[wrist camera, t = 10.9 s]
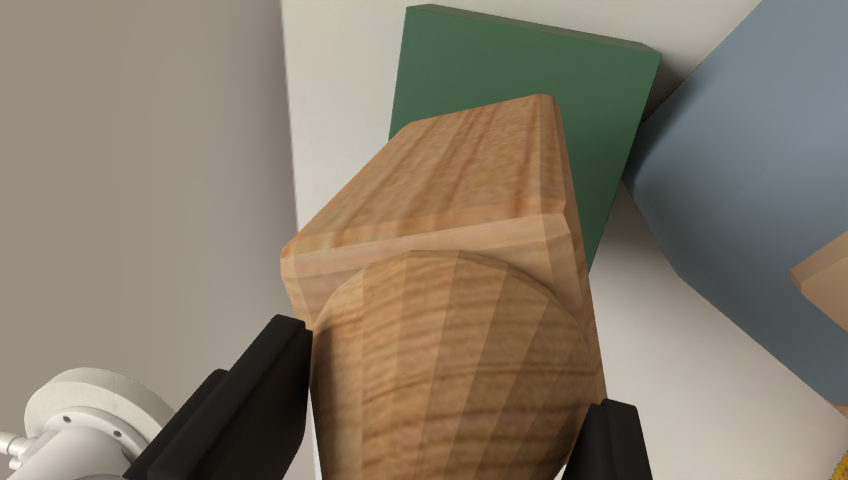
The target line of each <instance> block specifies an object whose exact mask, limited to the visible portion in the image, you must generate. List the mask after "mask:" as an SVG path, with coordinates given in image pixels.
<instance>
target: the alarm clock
mask: <svg viewBox="0 0 848 480" xmlns="http://www.w3.org/2000/svg"><path fill="white" fill-rule="evenodd" d="M621 178H622V180H623V182H624V184H625V185H626V187H627V189H628V191H629V192H630V194H631V196H632V198H633V200H634V201H635V203H636V205H637V207H638V209H639V210H640V212H641V214H642V216H643V217H644V219H645V221H646V223H647V225H648V226H649V228H650V230H651V232H652V234H653V235H654V237H655V239H656V241H657V242H658V244H659V246H660V248H661V250H662V251H663V253H664V255H665V257H666V258H667V260H668V261H669V263H670V264H671V266H672V267H673V268H674V270H675V271H676V273H677V274H678V276H679V277H680V278H681V279H683V280H684V281H685V282H686V283H687V284H689V285H690V286H691V287H692V288H693V289H695V290H696V291H697V292H698V293H699V294H700V295H702V296H703V297H704V298H705V299H706V300H708V301H709V302H710V303H711V304H712V305H713V306H715V307H716V308H717V309H718V310H719V311H721V312H722V313H723V314H724V315H725V316H727V317H728V318H729V319H730V320H731V321H732V322H734V323H735V324H736V325H737V326H738V327H740V328H741V329H742V330H743V331H744V332H746V333H747V334H748V335H749V336H750V337H751V338H753V339H754V340H755V341H756V342H757V343H759V344H760V345H761V346H762V347H763V348H764V349H766V350H767V351H768V352H769V353H770V354H772V355H773V356H774V357H775V358H776V359H778V360H779V361H780V362H781V363H782V364H783V365H785V366H786V367H787V368H788V369H789V370H791V371H792V372H793V373H794V374H795V375H797V376H798V377H799V378H800V379H801V380H802V381H804V382H805V383H806V384H807V385H808V386H810V387H811V388H812V389H813V390H814V391H816V392H817V393H818V394H819V395H820V396H821V397H823V398H824V399H825V400H826V401H827V402H829V403H830V404H831V405H832V406H833V407H834V408H836V409H837V410H838V411H839V412H840V413H842V414H843V415H844V416H845V417H846V418H848V0H763V1H762V2H761V3H760V4H759V5H758V6H757V7H756V8H755V9H754V10H753V11H752V12H751V13H750V14H749V15H748V16H747V17H746V18H745V19H744V20H743V21H742V22H741V23H740V24H739V25H738V26H737V28H736V29H735V30H734V31H733V32H732V33H731V34H730V35H729V36H728V37H727V38H726V39H725V40H724V41H723V42H722V43H721V44H720V45H719V46H718V47H717V48H716V49H715V50H714V51H713V52H712V53H711V54H710V55H709V56H708V57H707V58H706V59H705V60H704V61H703V62H702V63H701V64H700V65H699V66H698V67H697V68H696V70H695V71H694V72H693V73H692V74H691V75H690V76H689V77H688V78H687V79H686V80H685V81H684V82H683V83H682V84H681V85H680V86H679V87H678V88H677V89H676V90H675V91H674V92H673V93H672V94H671V95H670V96H669V97H668V98H667V99H666V100H665V101H664V102H663V103H662V104H661V105H660V106H659V107H658V108H657V109H656V111H655V112H654V113H653V114H652V115H651V116H650V117H649V118H648V119H647V120H646V121H645V122H644V123H643V124H642V125H641V126H640V127H639V128H638V129H637V132H636V135H635V138H634V141H633V144H632V147H631V150H630V153H629V156H628V159H627V162H626V165H625V168H624V171H623V174H622V177H621Z"/></svg>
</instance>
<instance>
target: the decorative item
mask: <svg viewBox="0 0 848 480" xmlns="http://www.w3.org/2000/svg"><path fill="white" fill-rule="evenodd" d="M280 266H281V278H282V281H283V283H284V286H285V289H286V291H287V294H288V296H289V299H290V301H291V304H292V307H293V309H294V312H295V315H296V317H297V319H299V320H303V321H305V324H306V329H308V330H312V331H313V344H312V356H311V367H310V379H309V388H310V395H311V402H312V409H313V417H314V424H315V431H316V438H317V445H318V453H319V460H320V467H321V474H322V480H554V478H555V477H556V476H557V474H558V473H559V472H560V470H561V469H562V467H563V466H564V465H565V464H567V463H568V460H569V458H570V455H571V453H572V450H573V447H574V445H575V442H576V440H577V437H578V434H579V432H580V429H581V427H582V424H583V421H584V419H585V416H586V414H587V411H588V409H589V406H590V405H591V403H595V404H598V405H600V403H601V401H602V400H603V399H605V398H606V399H608V398H607V392H606V385H605V379H604V373H603V366H602V360H601V354H600V347H599V341H598V335H597V328H596V322H595V316H594V309H593V303H592V296H591V290H590V284H589V277H588V271H587V265H586V258H585V252H584V246H583V239H582V233H581V227H580V221H579V215H578V209H577V203H576V198H575V192H574V186H573V181H572V175H571V169H570V164H569V158H568V152H567V146H566V141H565V135H564V129H563V124H562V118H561V112H560V107H559V105H558V104H557V102H556V100H555V99H554V97H553V96H551V95H545V94H535V95H531V96H526V97H522V98H517V99H513V100H508V101H504V102H499V103H495V104H490V105H486V106H481V107H477V108H472V109H468V110H463V111H459V112H454V113H450V114H445V115H441V116H436V117H432V118H427V119H423V120H418V121H414V122H410V123H409V124H408V125H406V126H405V127H404V128H402V129H401V130H400V131H399V132H398V133H397V134H396V135H395V136H394V137H393V138H392V139H391V140H390V141H389V142H388V143H387V144H386V145H385V146H384V147H383V148H382V149H381V150H380V151H379V152H378V153H377V154H376V155H375V156H374V157H373V158H372V159H371V160H370V161H369V162H368V163H367V164H366V165H365V166H364V167H363V168H362V169H361V170H360V171H359V172H358V173H357V174H356V175H355V176H354V177H353V178H352V179H351V180H350V181H349V182H348V183H347V184H346V185H345V186H344V187H343V188H342V189H341V190H340V191H339V192H338V193H337V194H336V195H335V197H334V198H333V199H332V200H331V201H330V202H329V203H328V204H327V205H326V206H325V207H324V208H323V209H322V210H321V211H320V212H319V213H318V214H317V215H316V216H315V217H314V218H313V219H312V220H311V221H310V222H309V223H308V224H307V225H306V226H305V227H304V228H303V229H302V230H301V231H300V232H299V233H298V234H297V235H296V236H295V237H294V238H293V239H292V240H291V241H290V242H289V243H288V244H287V245H286V246H285V247H284V248H283V250H282V254H281V258H280Z"/></svg>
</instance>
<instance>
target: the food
mask: <svg viewBox="0 0 848 480" xmlns="http://www.w3.org/2000/svg"><path fill="white" fill-rule="evenodd" d="M829 480H848V451H847V453H846V454H845V455H844V457H843V458H842V460H841V462H840V463H839V464H838V465H837V468H836V469H834V473H833V475H832V478H831V479H829Z"/></svg>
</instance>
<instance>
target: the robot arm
mask: <svg viewBox="0 0 848 480" xmlns="http://www.w3.org/2000/svg"><path fill="white" fill-rule="evenodd" d="M312 344H313V331H312V330H308V329H306V324H305V321H303V320H299V319H295V318H291V317H287V316H283V315H280V314H277V315H275V316H274V317H273V318H272V319H271V321H270V322H269V323H268V324H267V326H266V327H265V328H264V329H263V331H262V332H261V333H260V334H259V335H258V336H257V338H256V339H255V340H254V341H253V342H252V344H251V345H250V346H249V347H248V349H247V350H246V351H245V352H244V353H243V355H242V356H241V357H240V359H239V360H238V361H237V362H236V363H235V364H234V365H233V367H232V368H231V369H230V371H227V370H223V369H217V370H215V371H214V372H212V373H211V374H210V375H209V376H208V378H206V380H205V381H204V382H203V383H202V385H200V387H199V388H198V389H197V390H196V391H195V392H194V394H193V395H192V396H191V397H190V398H189V399H188V400H187V402H186V403H185V404H184V405H183V406H182V407H181V408H180V410H179V411H178V412H177V413H176V414H175V415H174V416H173V418H172V419H171V420H170V421H169V422H168V423H167V425H166V426H165V427H164V428H163V429H162V430H161V431H160V433H159V434H158V435H157V436H156V437H155V438H154V440H153V441H152V442H151V443H150V444H149V445H148V443H147V442H146V441H145V439H144V438H143V437H142V436H141V435H140V434H139V433H138V432H137V431H136V430H135V429H133V428H132V427H131V426H130V425H129V424H127V423H126V422H124V421H123V420H121V419H120V418H118V417H116V416H114V415H112V414H110V413H108V412H105V411H102V410H99V409H95V408H91V407H82V406H75V407H68V408H65V409H63V410H61V411H59V412H58V413H57V414H55V415H54V416H53V417H52V418H51V419H50V420H49V421H48V422H47V423H46V425H45V427H44V429H43V435H42V436H41V437H40V438H39V437H36V436H34V437H30V438H29V439H27V438H24V437H23V436H20V435H17V434H13V433H10V432H7V431H2V432H0V452H1V453H4V454H7V455H14V457H13V458H12V459H11V461H10V463H9V467H10V468H11V469H14V470H17V471H16V472H15V473H14V474H13V475H12V476H10V477H9V478H8V479H7V480H282V479H283V477H284V475H285V473H286V472H287V470H288V468H289V466H290V464H291V462H292V460H293V459H294V457H295V455H296V453H297V451H298V449H299V447H300V445H301V442H302V440H303V436H304V432H305V425H306V413H307V401H308V390H309V379H310V367H311V356H312ZM561 480H653V478H652V474H651V469H650V465H649V460H648V456H647V451H646V447H645V442H644V438H643V433H642V428H641V424H640V419H639V415H638V411H637V408H636V407H635V406H634V405H630V404H626V403H622V402H618V401H614V400H610V399H606V398H605V399H603V400H602V401H601V403H600V405H598V404H595V403H591V405H590V406H589V409H588V411H587V414H586V416H585V419H584V421H583V424H582V427H581V429H580V432H579V434H578V437H577V440H576V442H575V445H574V447H573V450H572V453H571V455H570V458H569V460H568V463H567V466H566V468H565V471H564V473H563V476H562V479H561Z"/></svg>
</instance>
